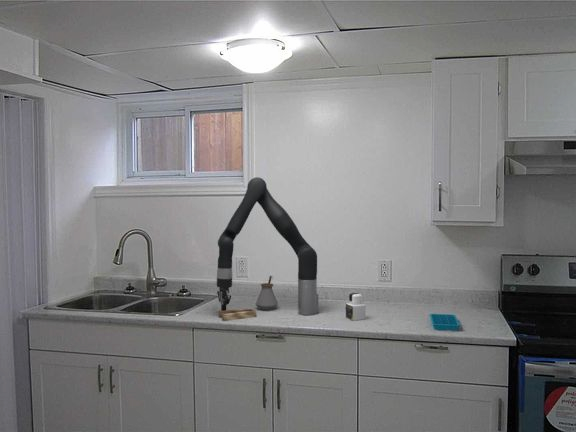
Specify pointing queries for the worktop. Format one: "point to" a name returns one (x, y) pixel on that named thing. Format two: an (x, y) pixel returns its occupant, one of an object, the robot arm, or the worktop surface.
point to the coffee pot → (267, 297)
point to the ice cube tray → (444, 322)
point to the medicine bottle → (355, 307)
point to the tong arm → (232, 311)
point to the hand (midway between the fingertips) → (223, 312)
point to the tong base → (239, 315)
